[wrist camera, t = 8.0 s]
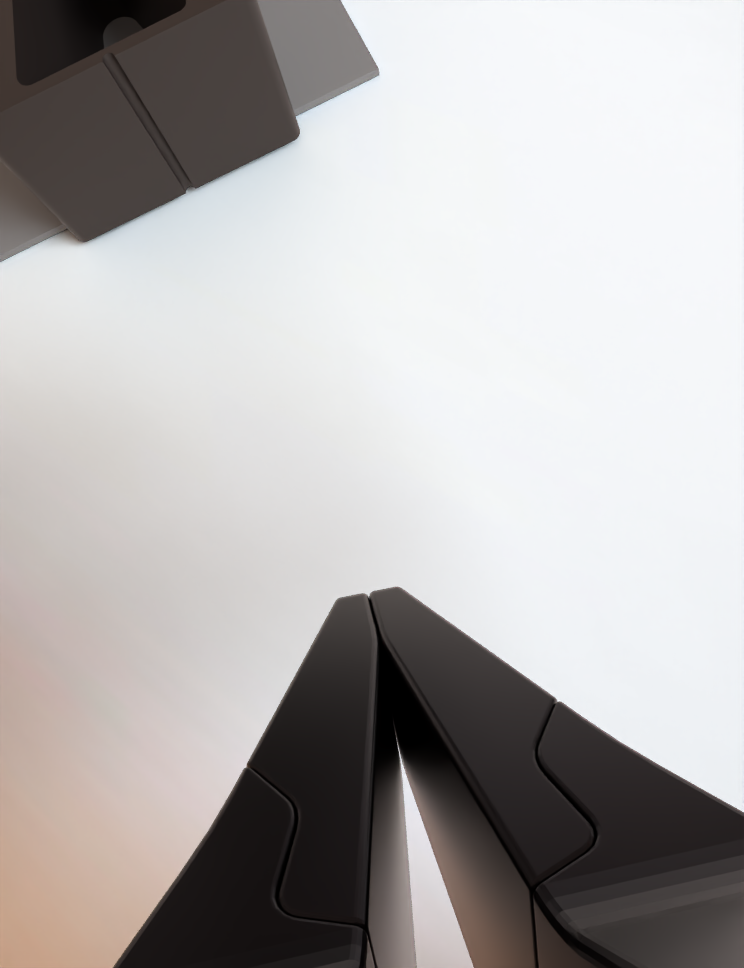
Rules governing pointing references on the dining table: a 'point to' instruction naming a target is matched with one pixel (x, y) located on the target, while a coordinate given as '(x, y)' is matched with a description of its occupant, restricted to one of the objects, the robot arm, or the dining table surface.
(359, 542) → the dining table surface
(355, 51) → the mat
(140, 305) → the dining table surface
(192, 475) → the dining table surface
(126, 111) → the phone stand
